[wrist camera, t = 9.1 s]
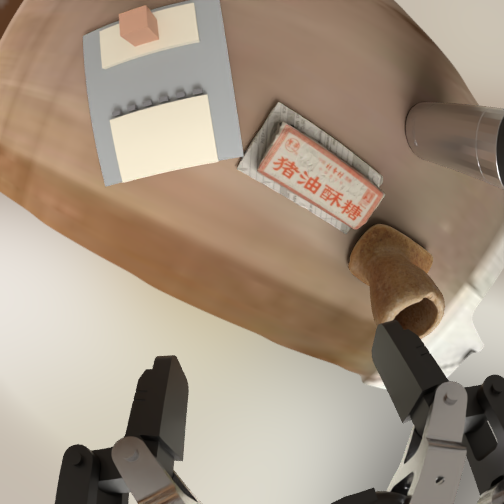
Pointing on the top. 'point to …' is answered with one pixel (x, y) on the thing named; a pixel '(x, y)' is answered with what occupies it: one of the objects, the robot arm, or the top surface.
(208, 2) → the board
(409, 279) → the brown hollow piece
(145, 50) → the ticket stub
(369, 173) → the packaged product
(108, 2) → the top surface
